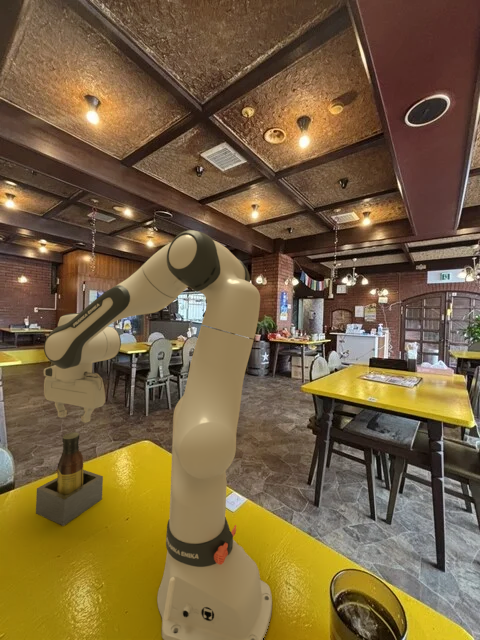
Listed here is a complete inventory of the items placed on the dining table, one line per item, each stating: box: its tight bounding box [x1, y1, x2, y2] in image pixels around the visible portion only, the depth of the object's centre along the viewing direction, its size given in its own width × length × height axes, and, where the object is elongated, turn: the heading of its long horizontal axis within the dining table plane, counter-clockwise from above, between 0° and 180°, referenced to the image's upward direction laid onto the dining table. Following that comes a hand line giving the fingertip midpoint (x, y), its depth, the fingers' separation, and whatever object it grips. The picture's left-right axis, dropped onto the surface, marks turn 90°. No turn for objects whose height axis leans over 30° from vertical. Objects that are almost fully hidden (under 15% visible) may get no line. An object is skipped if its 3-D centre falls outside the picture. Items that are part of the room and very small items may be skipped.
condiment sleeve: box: [35, 469, 104, 527], centre depth 80 cm, size 11×12×7 cm
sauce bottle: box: [56, 432, 84, 496], centre depth 79 cm, size 6×6×20 cm
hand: (73, 419), depth 79 cm, fingers open, 8 cm apart
